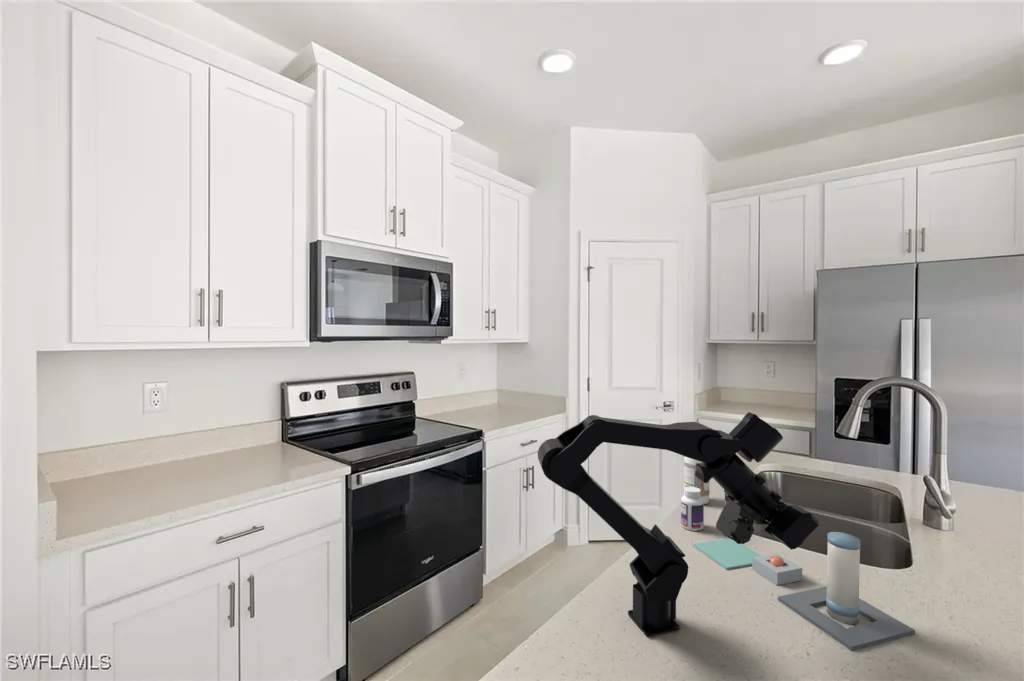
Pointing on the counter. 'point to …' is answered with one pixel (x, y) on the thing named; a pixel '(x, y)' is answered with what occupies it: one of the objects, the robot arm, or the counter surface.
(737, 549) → the rubber mat
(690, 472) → the body lotion
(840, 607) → the cartridge
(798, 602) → the port plate
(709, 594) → the counter surface
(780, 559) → the release button
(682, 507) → the pill bottle
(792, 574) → the block
